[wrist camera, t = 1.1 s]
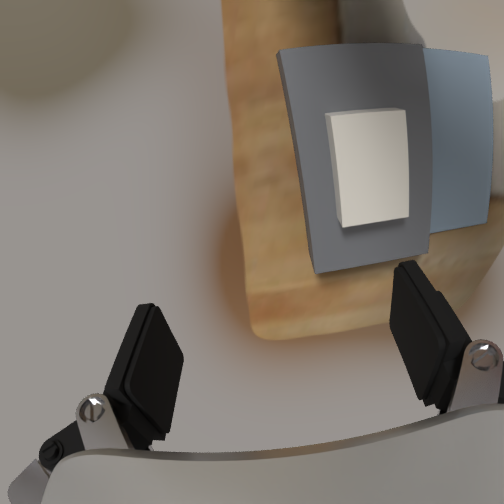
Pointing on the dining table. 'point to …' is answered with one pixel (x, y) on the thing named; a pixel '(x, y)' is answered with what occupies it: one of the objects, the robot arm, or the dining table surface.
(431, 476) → the robot arm
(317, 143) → the panel
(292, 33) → the dining table surface
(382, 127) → the tile
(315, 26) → the dining table surface
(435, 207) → the mat
